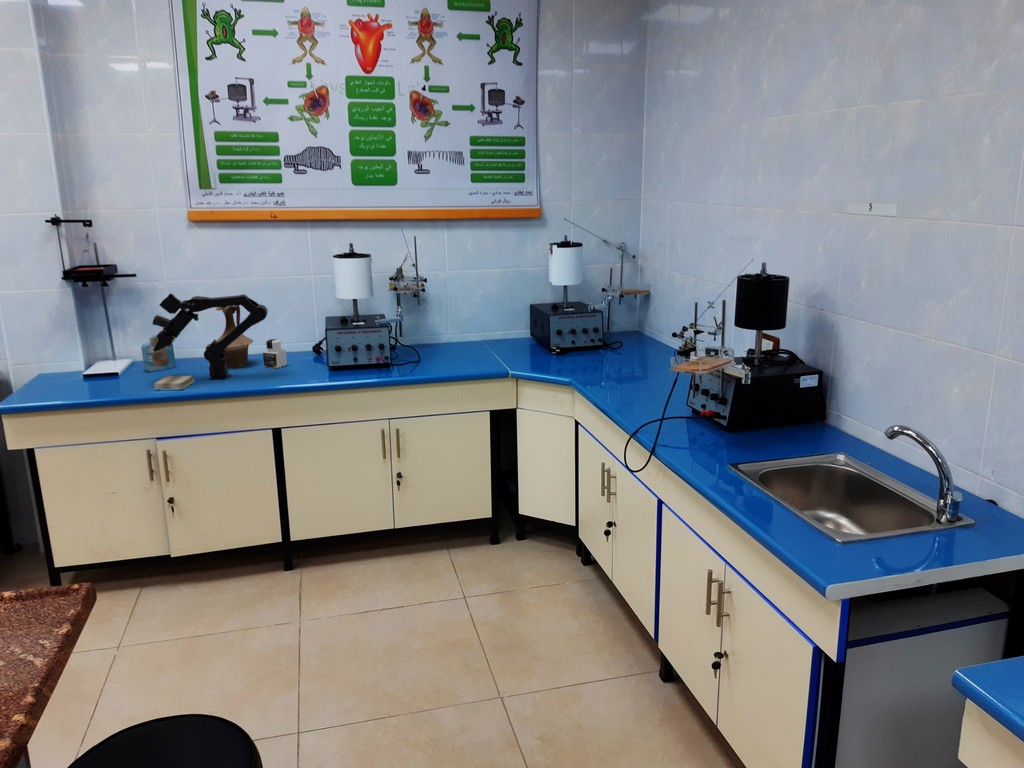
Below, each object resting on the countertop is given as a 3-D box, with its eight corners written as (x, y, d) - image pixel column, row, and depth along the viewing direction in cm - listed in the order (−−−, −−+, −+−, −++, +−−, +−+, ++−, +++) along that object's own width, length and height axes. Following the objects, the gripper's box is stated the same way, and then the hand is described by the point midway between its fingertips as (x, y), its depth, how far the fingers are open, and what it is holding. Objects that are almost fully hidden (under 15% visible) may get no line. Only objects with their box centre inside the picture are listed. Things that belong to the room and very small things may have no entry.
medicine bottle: (263, 367, 339) (261, 341, 335) (274, 363, 345) (271, 337, 342) (277, 369, 336) (274, 342, 333) (287, 365, 343) (285, 338, 339)
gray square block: (169, 362, 320) (164, 334, 317) (166, 365, 315) (162, 337, 312) (156, 363, 319) (151, 335, 316) (153, 366, 314) (149, 338, 311)
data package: (148, 372, 332) (144, 345, 329) (144, 370, 335) (140, 344, 332) (176, 367, 340) (172, 341, 337) (172, 365, 344) (168, 339, 340)
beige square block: (194, 382, 316) (193, 375, 315) (182, 390, 305) (181, 383, 304) (167, 383, 316) (166, 375, 315) (155, 390, 305) (154, 383, 305)
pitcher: (228, 359, 354) (221, 299, 346) (262, 360, 351) (256, 300, 343) (207, 369, 337) (200, 306, 329) (244, 370, 334) (237, 307, 327)
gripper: (168, 304, 320) (143, 332, 321) (158, 312, 303) (132, 341, 304) (190, 322, 324) (166, 349, 325) (182, 331, 307) (157, 359, 307)
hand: (155, 349), depth 315 cm, fingers closed on gray square block, 5 cm apart
